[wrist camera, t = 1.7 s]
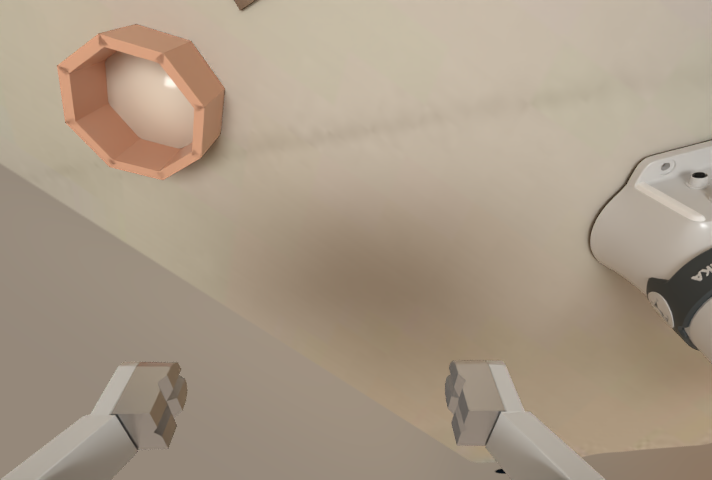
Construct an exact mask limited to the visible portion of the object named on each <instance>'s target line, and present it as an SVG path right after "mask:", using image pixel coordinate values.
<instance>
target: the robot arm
mask: <svg viewBox="0 0 712 480" xmlns="http://www.w3.org/2000/svg"><path fill="white" fill-rule="evenodd" d="M663 164H665V165H664V166H662V165H663ZM590 245H591V250H592V253H593V255H594V256H595V258H596V259H597V260H598V261H599V262H600V263H601V264H603V265H604V266H606V267H608V268H610V269H612V270H613V271H615V272H616V273H618V274H619V275H621V276H622V277H624V278H625V279H626V280H628V281H629V282H630V283H632V284H633V285H634V286H635V287H636V288H638V289H639V290H640V291H641V292H642V293H643V294H645V295H646V296H647V297H648V300H649V302H650V303H651V305H652V307H653V308H654V309H655V311H656V312H657V313H658V315H659V316H660V317H661V318H662V319H663V320H664V322H665V323H666V324H667V325H668V326H669V327H670V328H672V329H673V330H674V331H675V332H676V333H677V334H678V335H679V336H680V337H681V338H682V339H683V340H684V341H685V342H686V343H687V344H688V345H689V346H690V347H692V348H694V349H696V350H698V351H700V352H701V353H702V354H703V355H704V356H705V357H706V358H707V359H708V361H709V362H710V363H711V364H712V140H711V141H707V142H703V143H699V144H695V145H692V146H688V147H684V148H680V149H676V150H672V151H668V152H665V153H661V154H657V155H653V156H650V157H647V158H645V159H644V160H643V161H641V162H640V163H639V165H638V166H637V167H636V169H635V170H634V172H633V174H632V175H631V177H630V179H629V181H628V183H627V185H626V186H625V187H624V188H623V189H622V190H621V191H620V192H619V193H618V194H617V195H616V196H615V197H614V198H613V199H612V200H611V201H610V202H609V203H608V204H607V205H606V206H605V208H604V209H603V210H602V212H601V213H600V215H599V216H598V218H597V220H596V222H595V224H594V226H593V229H592V232H591V238H590ZM449 369H450V373H451V374H450V375H449V376H448V377H447V378H446V383H445V395H446V402H447V406H448V409H449V410H450V411H451V412H452V413H453V414H454V416H453V419H452V423H451V424H452V428H453V432H454V436H455V440H456V444H457V445H465V446H486V447H485V448H486V449H487V450H488V451H489V453H490V454H491V455H492V456H493V458H494V459H495V460H496V461H497V462H498V464H499V465H500V466H501V467H502V469H503V470H504V471H505V472H506V474H507V475H508V476H509V477H510V478H511V480H606V479H604V478H603V477H602V476H601V475H600V474H599V473H598V472H597V471H596V470H594V469H593V468H592V467H591V466H590V465H589V464H588V463H586V461H584V460H583V459H582V458H581V457H580V456H579V455H578V454H577V453H576V452H574V451H573V450H572V449H571V448H570V447H569V446H568V445H567V444H566V443H565V442H563V441H562V440H561V439H560V438H559V437H558V436H557V435H556V434H555V433H553V432H552V431H551V430H550V429H549V428H548V427H547V426H546V425H545V424H543V423H542V422H541V421H540V420H539V419H538V418H537V417H536V416H535V415H533V414H532V413H531V412H530V411H525V410H524V408H523V405H522V403H521V401H520V398H519V396H518V393H517V391H516V389H515V386H514V384H513V381H512V379H511V377H510V374H509V372H508V369H507V367H506V365H505V363H504V362H503V361H501V360H490V361H484V360H461V361H452V362H451V363H450V367H449ZM180 371H181V368H180V366H179V364H178V363H177V362H123V363H122V364H121V365H120V366H119V367H118V368H117V369H116V371H115V373H114V374H113V376H112V378H111V380H110V382H109V383H108V385H107V386H106V388H105V390H104V392H103V393H102V395H101V397H100V398H99V400H98V402H97V404H96V405H95V407H94V409H93V410H92V412H91V414H90V415H84V416H83V417H82V418H80V419H79V420H78V421H76V422H75V423H74V424H72V425H71V426H70V427H68V428H67V429H66V430H64V431H63V432H62V433H61V434H59V435H58V436H57V437H55V438H54V439H53V440H51V441H50V442H49V443H48V444H46V445H45V446H44V447H42V448H41V449H40V450H39V451H37V452H36V453H34V454H33V455H32V456H31V457H29V458H28V459H27V460H25V461H24V462H23V463H21V464H20V465H19V466H17V467H16V468H15V469H14V470H12V471H11V472H10V473H8V474H7V475H6V476H4V477H3V478H2V479H0V480H112V479H113V478H114V477H115V476H116V475H117V473H118V472H119V471H120V470H121V469H122V468H123V467H124V466H125V465H126V464H127V463H128V462H129V461H130V460H131V459H132V458H133V456H134V455H135V454H136V453H137V452H138V451H137V450H146V449H168V448H169V445H170V443H171V440H172V437H173V435H174V432H175V429H176V427H177V424H176V422H175V419H174V418H175V417H176V416H177V415H178V414H179V413H181V412H182V410H183V408H184V405H185V402H186V397H187V383H186V380H185V378H183V377H182V376H180V375H179V374H180Z"/></svg>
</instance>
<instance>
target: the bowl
mask: <svg viewBox="0 0 712 480" xmlns="http://www.w3.org/2000/svg"><path fill="white" fill-rule="evenodd" d="M57 68H58V75H59V82H60V89H61V96H62V103H63V109H64V116H65V123H66V124H67V125H68V126H69V127H70V128H71V129H72V130H73V131H74V132H75V133H76V134H77V135H78V136H79V137H80V138H81V139H82V140H83V141H84V142H85V143H86V144H87V145H88V146H89V147H90V148H91V149H92V150H93V151H94V152H95V153H96V154H97V155H98V156H99V157H100V158H101V159H102V160H103V161H104V162H105V163H106V164H107V165H108V166H109V167H112V168H116V169H120V170H124V171H128V172H132V173H136V174H140V175H144V176H148V177H152V178H156V179H161V180H164V179H166V178H167V177H169V176H171V175H173V174H174V173H176V172H178V171H179V170H181V169H183V168H185V167H186V166H188V165H190V164H191V163H193V162H195V161H197V160H198V159H200V158H202V156H203V155H204V154H205V153H206V151H207V150H208V149H209V148H210V146H211V145H212V144H213V143H214V142H215V140H216V139H217V138H218V137H219V135H220V134H221V124H222V114H223V103H224V92H225V88H224V87H223V85H222V84H221V82H220V81H219V80H218V78H217V77H216V75H215V74H214V73H213V71H212V70H211V68H210V67H209V66H208V64H207V63H206V61H205V60H204V59H203V57H202V56H201V54H200V53H199V51H198V50H197V49H196V47H195V46H194V44H193V43H192V42H191V41H189V40H186V39H183V38H179V37H176V36H173V35H170V34H167V33H163V32H160V31H157V30H154V29H150V28H147V27H144V26H141V25H137V24H135V25H131V26H127V27H123V28H119V29H115V30H111V31H107V32H103V33H99V34H98V35H96V36H95V37H94V38H92V39H91V40H90V41H88V42H87V43H86V44H85V45H83V46H82V47H81V48H79V49H78V50H77V51H76V52H74V53H73V54H72V55H70V56H69V57H68V58H67V59H65V60H64V61H63V62H61V63H60V64H59V65H57Z"/></svg>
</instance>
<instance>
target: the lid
mask: <svg viewBox="0 0 712 480" xmlns="http://www.w3.org/2000/svg"><path fill="white" fill-rule="evenodd" d="M234 1H235V2H236V4H237V6H238V7H239V9H240V10H242V9H243V8H245V7H246V6H248V5H249V4H251V3H252V2H254V1H255V0H234Z"/></svg>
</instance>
